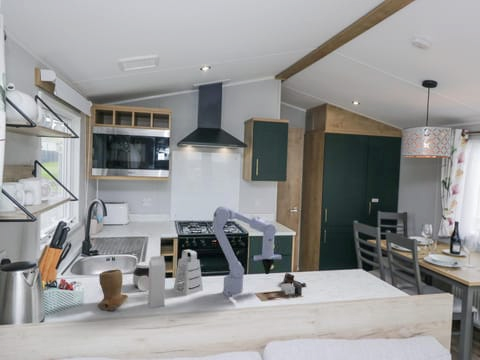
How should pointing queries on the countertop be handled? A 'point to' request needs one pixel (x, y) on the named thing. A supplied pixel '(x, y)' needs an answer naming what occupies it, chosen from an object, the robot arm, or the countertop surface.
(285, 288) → the brushed steel box
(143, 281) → the spread jar
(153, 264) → the milk
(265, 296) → the rail board
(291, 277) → the mechanical counter
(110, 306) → the brown boot
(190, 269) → the grater
